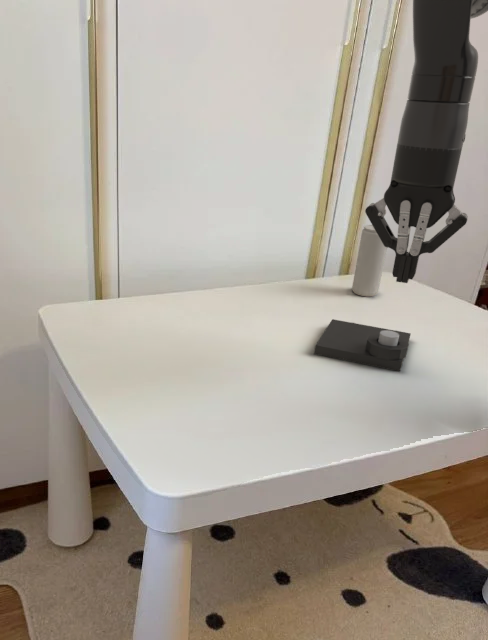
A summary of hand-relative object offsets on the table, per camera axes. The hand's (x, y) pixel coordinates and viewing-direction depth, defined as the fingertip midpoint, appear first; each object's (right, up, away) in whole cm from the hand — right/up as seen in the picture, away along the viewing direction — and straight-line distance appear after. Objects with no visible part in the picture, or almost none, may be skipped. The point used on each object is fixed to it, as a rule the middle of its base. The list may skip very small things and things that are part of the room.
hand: (402, 280), depth 85 cm
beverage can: (+4, +4, +32) cm, 33 cm away
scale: (-3, -8, +9) cm, 12 cm away
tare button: (-1, -8, +4) cm, 9 cm away
